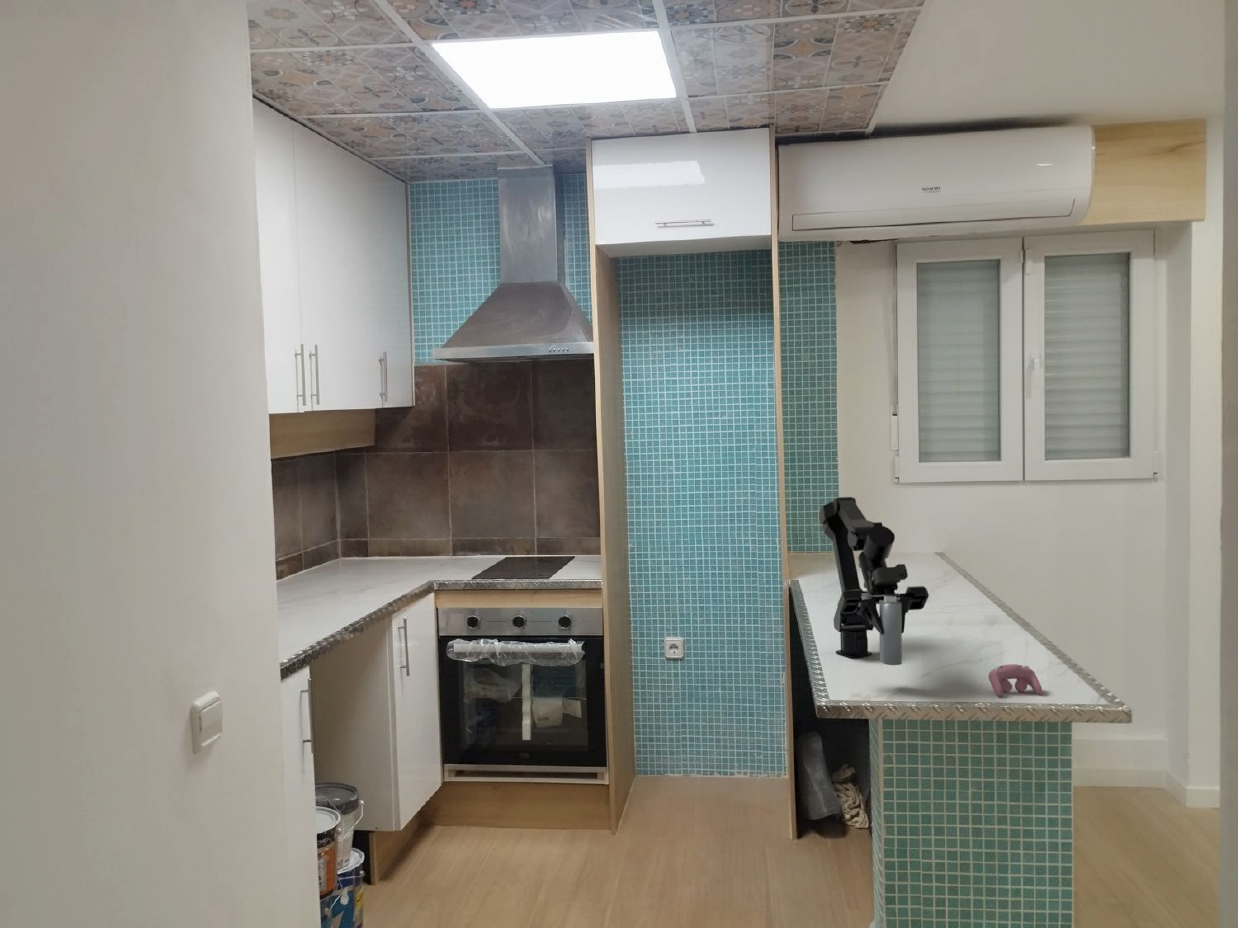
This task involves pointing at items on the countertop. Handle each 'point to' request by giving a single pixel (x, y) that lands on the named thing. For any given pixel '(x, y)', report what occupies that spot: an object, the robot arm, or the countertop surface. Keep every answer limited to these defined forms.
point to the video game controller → (1013, 672)
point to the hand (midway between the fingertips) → (892, 632)
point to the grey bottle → (891, 630)
